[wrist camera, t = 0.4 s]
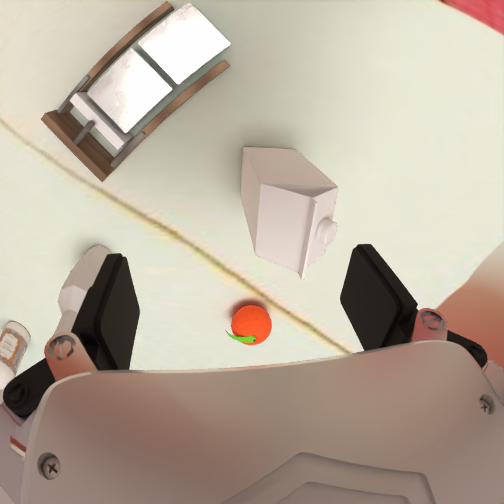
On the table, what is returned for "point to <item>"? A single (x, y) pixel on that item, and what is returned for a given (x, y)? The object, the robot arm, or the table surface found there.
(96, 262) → the faceted bottle
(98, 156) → the lane
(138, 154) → the table surface
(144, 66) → the white square block
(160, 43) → the tin
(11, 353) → the bath foam
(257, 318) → the clementine
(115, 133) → the pusher
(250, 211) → the milk carton
